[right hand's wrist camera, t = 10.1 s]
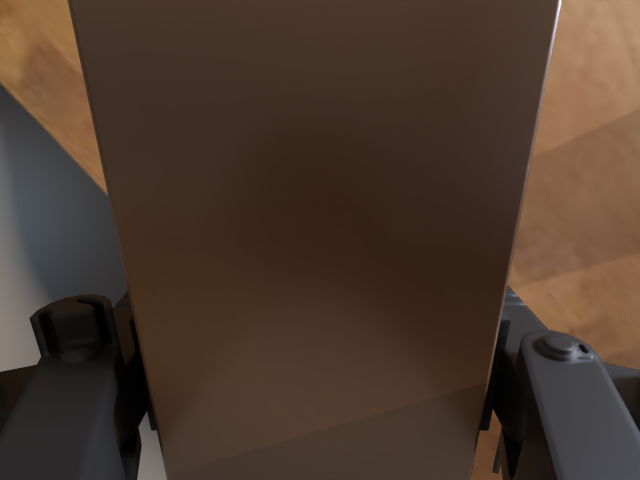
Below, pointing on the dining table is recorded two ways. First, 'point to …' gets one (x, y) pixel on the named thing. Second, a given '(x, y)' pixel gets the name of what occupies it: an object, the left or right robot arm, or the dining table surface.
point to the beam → (316, 220)
